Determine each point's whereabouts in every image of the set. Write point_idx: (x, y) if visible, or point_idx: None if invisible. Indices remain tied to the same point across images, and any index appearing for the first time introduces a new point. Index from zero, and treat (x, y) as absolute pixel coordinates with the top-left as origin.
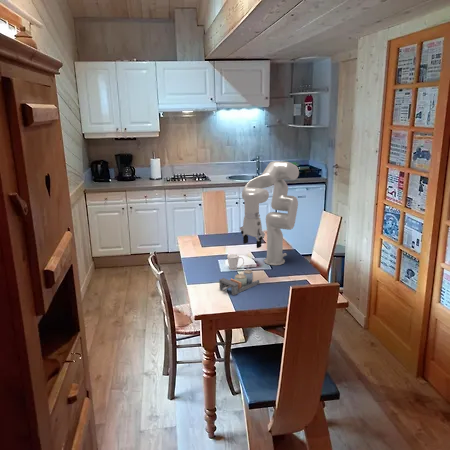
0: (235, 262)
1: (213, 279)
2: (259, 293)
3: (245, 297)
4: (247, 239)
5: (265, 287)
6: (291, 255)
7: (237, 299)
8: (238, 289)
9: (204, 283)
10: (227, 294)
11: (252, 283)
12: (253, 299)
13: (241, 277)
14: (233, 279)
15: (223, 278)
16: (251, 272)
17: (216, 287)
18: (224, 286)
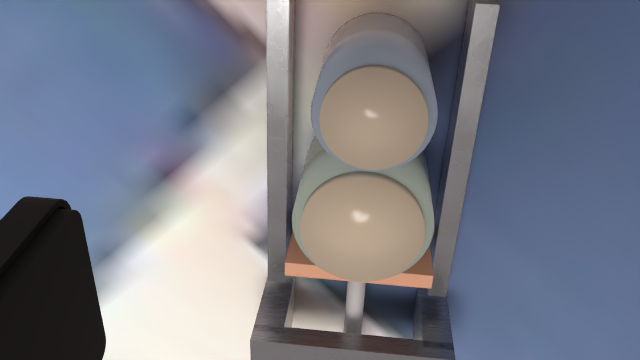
0: None
1: None
2: (617, 180)
3: (542, 301)
4: (22, 323)
5: (607, 29)
6: None
7: (505, 354)
8: (441, 295)
9: None
10: (383, 336)
11: (477, 123)
12: (624, 293)
13: (399, 257)
14: (319, 269)
15: (261, 349)
16: (427, 111)
17: (220, 298)
18: (291, 303)
